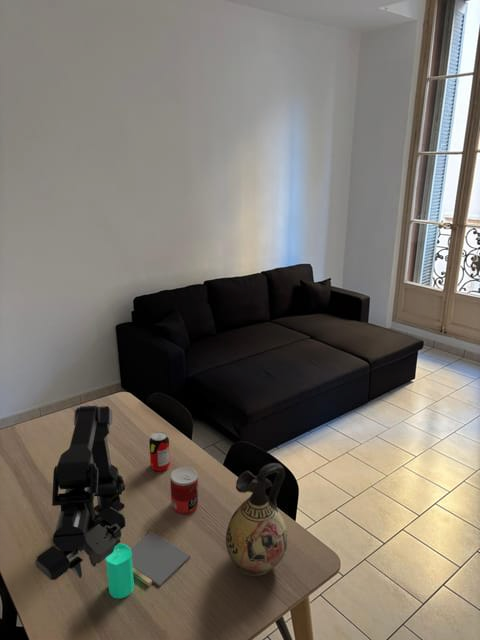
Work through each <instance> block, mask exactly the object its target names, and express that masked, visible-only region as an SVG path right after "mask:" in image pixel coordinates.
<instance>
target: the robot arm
mask: <svg viewBox="0 0 480 640" xmlns="http://www.w3.org/2000/svg"><path fill="white" fill-rule="evenodd" d="M73 416H74V418H73V419H74V420H73V421H74V422H73V425H74V427H73V432H72V437H71V440H70V444H69V447H68V449H67V450H66V451H64V452H63V453H61V455H60V457H59V459H58V461H57V462H58V463H57V465H55V466H54V468H53V473H52V474H53V478H52V479H53V480H52V499H51V500H52V503H51V505H52V507H53V506H54V507H55V506H60V512H59V515H58V519H57V522H56V526H55V530H54V533H53V536H52V542H53V545H51V546H50V547H48V548H47V549H46V550H45V551H43V552H41V553H40V554H39V555H37V556H36V557H35V566H36V568H37V570H39V571H40V572H41V573H42V574H44V575H45V576H46V577H47V578H48V579H49V580H50V581H54V580H55V581H56V580H58V579H59V578H60V577H61V576H62V575H64V574H65V573H67V572H68V570H72V571H73V573H74V574H75V575H76V576H77V577H78V578H79V579H81V578H83V576H82V575H83V572H82V566H81V563H82V562H83V561H84V559H83V558H82V557H81V556H79V552H83V551H84V552H85V553H86V554H87V556H88V559H89V562H90V565H91V567H93V568H95V567H96V566H97V564H101V563H102V562H103V561H104V560H106V557H107V556H109V555H110V554H112V553H113V551H114V547H115V546H116V545H117V544H120V543H121V538H122V529H124V528H125V527H126V517H125V516H124V514H122V513H121V512H119V511H121V510H122V509H123V508H125V507H126V505H125V504H124V503H123V502H122V501H121V497H120V495H121V496H122V494H123V492H124V491H125V490H126V485H125V484H126V483H125V481H124V477H123V475H121V474H120V471H119V468H118V467H116V466H115V465H113V464H112V462H111V454H110V448H109V443H108V435H109V434H110V426H111V425H112V424H113V411H112V410H111V409H110V407H109V406H107V405H103V406H99V405H98V406H97V405H82V406H81V405H80V406H78V407H77V408H76V409H74V414H73ZM59 489H60V490H64V493H59ZM95 497H97V499H96V500H97V505H96V506H95V505H94V501H95ZM95 512H97V513H95Z"/></svg>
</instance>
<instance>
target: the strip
mask: <svg viewBox="0 0 480 640" xmlns="http://www.w3.org/2000/svg"><path fill="white" fill-rule="evenodd" d="M133 577H135V578H136V579H138V580H139V581H140V582H141V583H143V584H145V586H147V587H148V588H150V587H151V586H152V585H153V582H152V580H151V579H149V578H148V577H147V576H145V575H144V574H142V573H141V572H140V571H138V570H137V569H135V568H134V567H133Z"/></svg>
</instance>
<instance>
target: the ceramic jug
mask: <svg viewBox="0 0 480 640" xmlns="http://www.w3.org/2000/svg"><path fill="white" fill-rule="evenodd" d="M274 473H276V476H275V479H274V482H273V483H272V481H271V480H270V479H268V476H269V475H271V474H274ZM285 478H286V471H285V469H284V466H283V465H282V464H280V463H277V462H270V463H266V464H265V465H263V467H261V468H260V469H259V472H258V474H257V475H254V474H253V472H251V471H249V470H245V471H243V472H242V473H240V474H239V476H238V478H237V479H236V482H235V489H236V491H237V492H239V493H241V494H242V493H243V494H246V493H252V494H251V495H250V496H249V497H248V498H246V500H244V501H243V502H242V503H241V504H240V506H238V507H237V509H235V511H234V512H233V514H232V516H231V517H230V519H229V522H228V525H227V527H226V529H227V530H226V533H225V534H226V535H225V546H226V551H227V554H228V555H229V557H230V559H231V561H232V562H233V563H234V564H235V565H236V567H237V568H238V569H239V570H240V571H241V572H242V573H243V574H245V575H247V576H251V577H259V576H263V575H265V574H266V573H269V572H270V571H271V570H272V569H274V568H275V567H276V566H278V565H279V563H280V562H281V561H282V560H283V558H284V557H285V554H286V551H287V549H288V532H287V531H288V530H287V526H286V523H285V520H284V518H283V517H282V515H281V513H280V511H279V510H278V506H277V497H278V495H279V493H280V490H281V487H282V485H283V483H284V480H285ZM267 489H270V491H269V492H268V494H267V492H266V490H267Z"/></svg>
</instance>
